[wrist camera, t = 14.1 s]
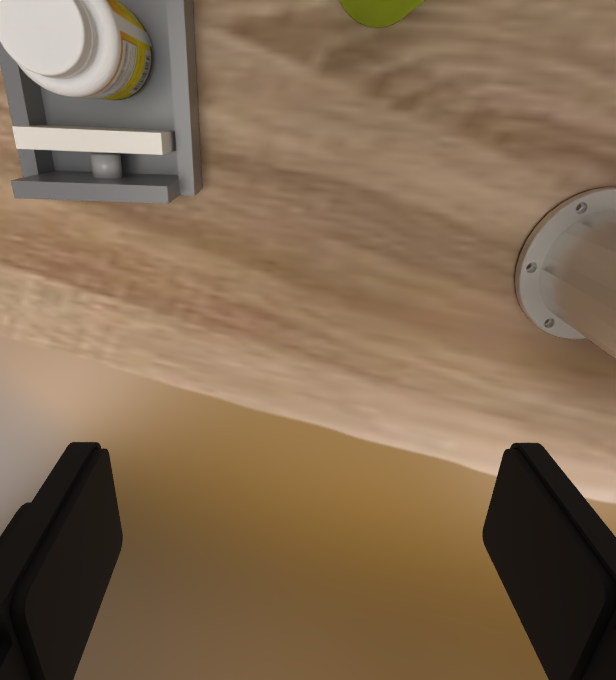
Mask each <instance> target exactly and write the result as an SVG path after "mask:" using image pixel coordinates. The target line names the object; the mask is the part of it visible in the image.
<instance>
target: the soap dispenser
mask: <svg viewBox="0 0 616 680" xmlns="http://www.w3.org/2000/svg"><path fill="white" fill-rule="evenodd" d="M424 1H425V0H340V2H341V4H342V6H343V8H344V9H345V10H346V12H347V13H348V14H349V15H350V16H351V17H352V18H353V19H354V20H356V21H357V22H359V23H361V24H363V25H365V26H369V27H386V26H389V25H392V24H394V23H396V22H398V21H400V20H401V19H403V18H404V17H405V16H406V15H407V14H409V13H410V12H411V11H412V10H414V9H415V8H416V7H417V6H419V5H420V4H421V3H422V2H424Z"/></svg>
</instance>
